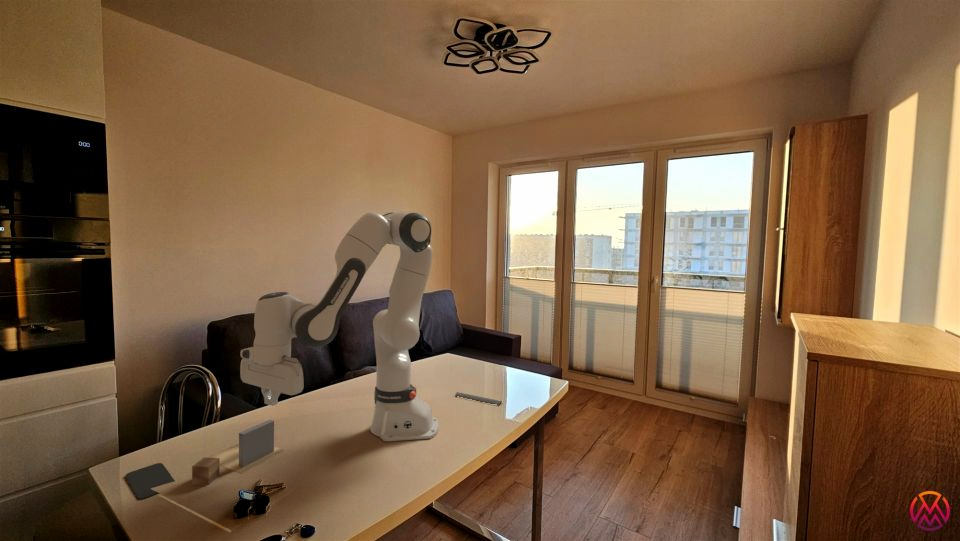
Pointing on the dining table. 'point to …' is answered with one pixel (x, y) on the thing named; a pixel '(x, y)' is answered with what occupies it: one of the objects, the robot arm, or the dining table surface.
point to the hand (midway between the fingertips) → (270, 404)
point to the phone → (148, 480)
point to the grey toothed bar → (478, 398)
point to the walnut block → (205, 471)
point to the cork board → (231, 458)
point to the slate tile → (256, 443)
